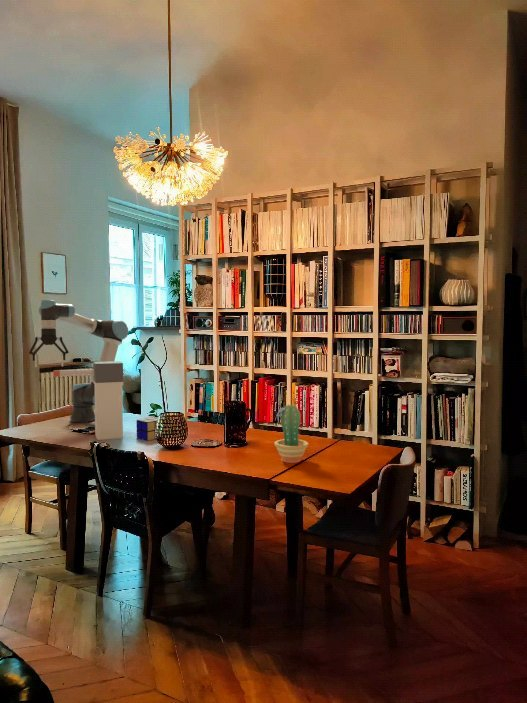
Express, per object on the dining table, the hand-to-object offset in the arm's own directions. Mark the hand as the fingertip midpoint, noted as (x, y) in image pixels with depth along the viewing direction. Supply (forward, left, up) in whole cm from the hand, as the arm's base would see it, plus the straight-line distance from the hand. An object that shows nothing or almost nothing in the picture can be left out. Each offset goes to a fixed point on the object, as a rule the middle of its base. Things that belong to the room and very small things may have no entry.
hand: (49, 366), depth 296 cm
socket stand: (-5, +36, -37) cm, 52 cm away
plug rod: (+5, +26, -3) cm, 26 cm away
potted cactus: (0, +142, -37) cm, 147 cm away
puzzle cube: (-11, +58, -37) cm, 70 cm away
